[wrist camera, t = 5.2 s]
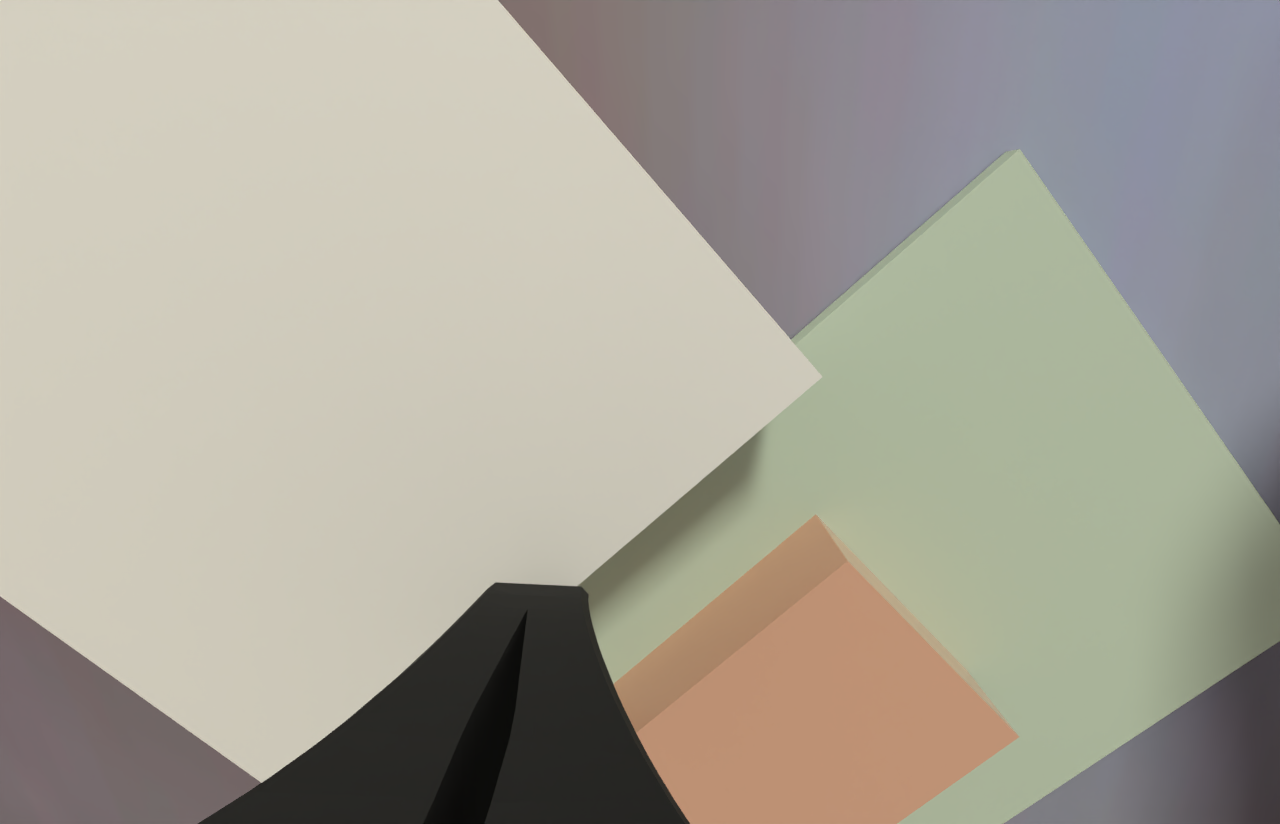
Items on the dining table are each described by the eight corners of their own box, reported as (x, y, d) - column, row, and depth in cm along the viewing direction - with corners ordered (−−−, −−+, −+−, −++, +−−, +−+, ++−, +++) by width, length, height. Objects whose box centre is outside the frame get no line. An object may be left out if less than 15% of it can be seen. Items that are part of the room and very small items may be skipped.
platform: (773, 341, 12) (822, 376, 9) (375, 690, 13) (308, 815, 11) (241, -270, 9) (61, -506, 6) (-161, 266, 11) (-445, 279, 8)
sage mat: (1315, 593, 13) (1334, 604, 13) (624, 1055, 17) (624, 1073, 16) (1005, 151, 11) (1019, 149, 10) (263, 800, 14) (254, 816, 14)
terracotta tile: (847, 561, 10) (815, 513, 12) (514, 831, 12) (528, 754, 14) (1018, 736, 11) (967, 671, 13) (695, 966, 13) (686, 879, 15)
